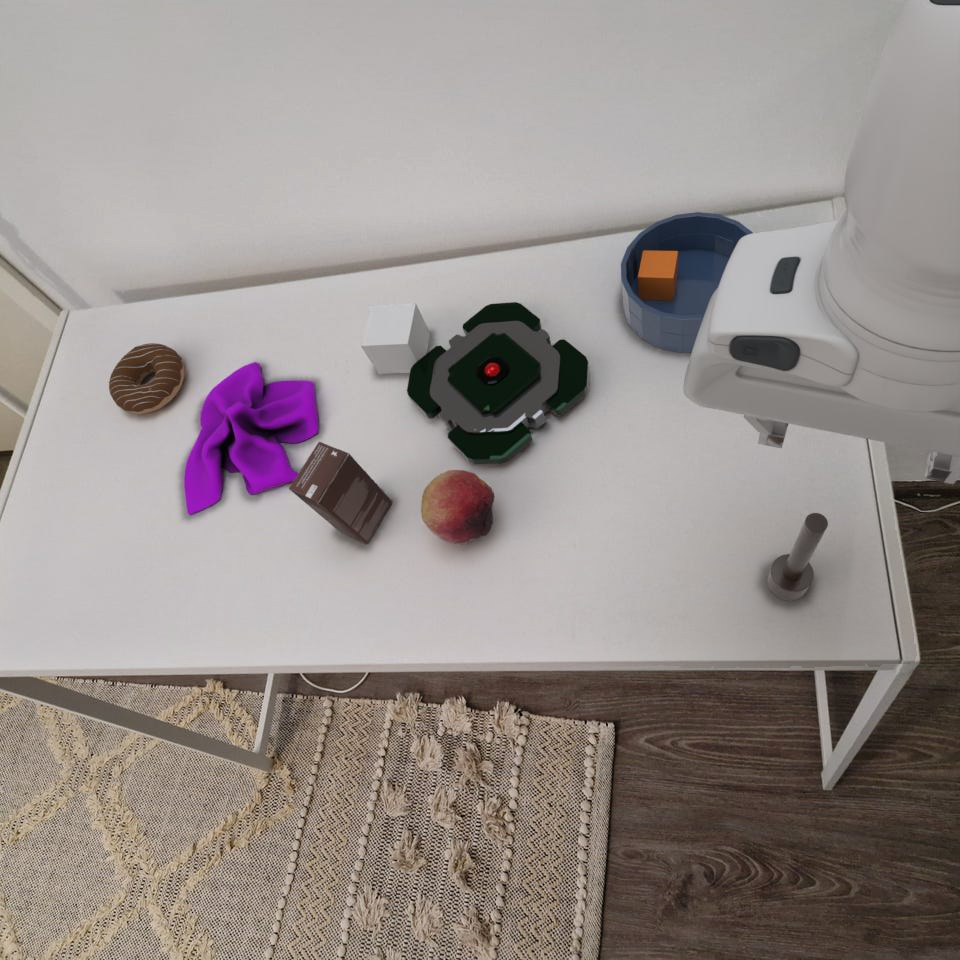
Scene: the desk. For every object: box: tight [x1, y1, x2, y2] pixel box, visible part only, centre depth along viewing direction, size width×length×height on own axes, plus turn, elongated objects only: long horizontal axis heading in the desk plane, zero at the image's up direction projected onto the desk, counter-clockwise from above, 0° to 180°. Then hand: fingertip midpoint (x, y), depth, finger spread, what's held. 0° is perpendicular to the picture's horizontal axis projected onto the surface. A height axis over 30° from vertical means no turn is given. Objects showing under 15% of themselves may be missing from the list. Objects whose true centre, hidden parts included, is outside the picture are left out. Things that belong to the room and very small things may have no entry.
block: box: [638, 250, 678, 301], centre depth 82 cm, size 4×4×4 cm
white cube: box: [360, 302, 431, 375], centre depth 87 cm, size 6×6×6 cm
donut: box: [108, 342, 185, 414], centre depth 96 cm, size 11×11×4 cm
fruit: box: [420, 469, 495, 546], centre depth 74 cm, size 8×8×8 cm
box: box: [288, 441, 393, 545], centre depth 75 cm, size 6×4×12 cm
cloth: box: [183, 361, 319, 516], centre depth 87 cm, size 22×19×6 cm
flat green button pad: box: [406, 301, 590, 465], centre depth 82 cm, size 18×18×5 cm
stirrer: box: [766, 512, 829, 602], centre depth 60 cm, size 4×4×15 cm
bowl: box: [620, 211, 754, 353], centre depth 81 cm, size 15×15×6 cm
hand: (852, 453), depth 43 cm, fingers open, 8 cm apart
